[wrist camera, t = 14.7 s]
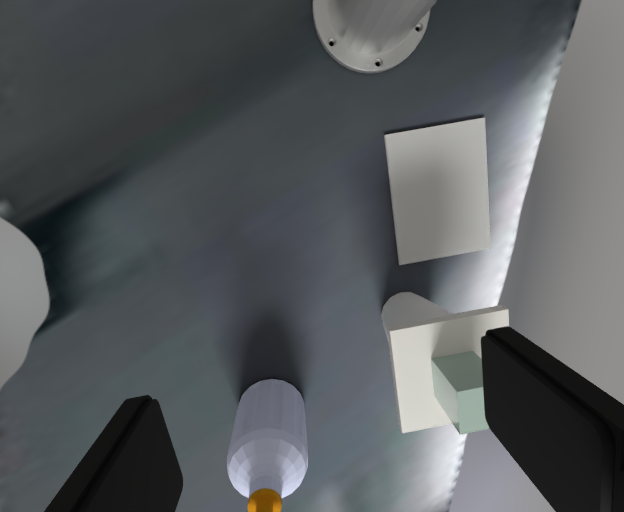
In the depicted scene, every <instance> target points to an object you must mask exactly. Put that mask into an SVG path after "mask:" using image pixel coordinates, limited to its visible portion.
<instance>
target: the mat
mask: <svg viewBox="0 0 624 512" xmlns="http://www.w3.org/2000/svg"><path fill="white" fill-rule="evenodd" d="M384 139H385V148H386V157H387V165H388V174H389V183H390V192H391V201H392V209H393V218H394V227H395V236H396V245H397V253H398V262H399V265H404V264H409V263H415V262H420V261H425V260H431V259H436V258H442V257H447V256H452V255H458V254H463V253H469V252H474V251H479V250H485V249H490V248H491V242H490V220H489V198H488V176H487V153H486V131H485V118H479V119H473V120H468V121H462V122H456V123H450V124H445V125H439V126H433V127H428V128H422V129H416V130H410V131H405V132H399V133H393V134H388V135H384Z"/></svg>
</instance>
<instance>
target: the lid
mask: <svg viewBox="0 0 624 512" xmlns="http://www.w3.org/2000/svg"><path fill="white" fill-rule="evenodd" d="M506 326H509V317H508V309H507V308H505V307H504V306H502V305H500V306H495V307H489V308H484V309H478V310H473V311H468V312H462V313H457V314H452V315H446V316H441V317H435V318H430V319H425V320H419V321H414V322H409V323H403V324H398V325H392V326H387V333H388V341H389V349H390V358H391V366H392V374H393V382H394V390H395V398H396V406H397V414H398V422H399V427H400V429H401V432H402V433H406V432H411V431H416V430H422V429H427V428H432V427H437V426H442V425H447V424H452V423H453V425H454V426H455V428H456V429H457V431H458V432H459V434H465V433H470V432H475V431H480V430H485V429H490V428H489V426H488V424H487V422H486V418H485V410H484V392H483V375H482V357H481V337H482V336H485V334H486V331H487V330H490V329H495V328H500V327H506Z"/></svg>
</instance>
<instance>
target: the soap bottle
mask: <svg viewBox="0 0 624 512" xmlns="http://www.w3.org/2000/svg"><path fill="white" fill-rule="evenodd" d="M307 468H308V449H307V435H306V421H305V406H304V401H303V398H302V396H301V394H300V392H299V391H298V390H297V389H296V388H295V387H294V386H293V385H291V384H289V383H287V382H285V381H283V380H277V379H268V380H262V381H259V382H257V383H255V384H253V385H251V386H250V387H249V388H248V389H247V390H246V391H245V392H244V393H243V395H242V397H241V400H240V402H239V405H238V409H237V414H236V419H235V423H234V428H233V433H232V437H231V442H230V446H229V451H228V456H227V471H228V475H229V478H230V480H231V482H232V484H233V486H234V488H235V489H236V490H238V491H239V492H240V493H241V494H242V495H243V496H246V497H248V511H249V512H280V510H281V504H282V498H283V497H285V496H287V495H289V494H291V493H292V492H293V491H294V490H295V489H296V488H298V487H299V486H300V484H301V482H302V480H303V478H304V475H305V473H306V470H307Z"/></svg>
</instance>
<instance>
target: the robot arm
mask: <svg viewBox="0 0 624 512" xmlns="http://www.w3.org/2000/svg"><path fill="white" fill-rule="evenodd" d="M436 2H437V0H313V5H312V13H313V20H314V26H315V29H316V32H317V35H318V38H319V40H320V41H321V43H322V45H323V47H324V48H325V50H326V51H327V52H328V53H329V55H330V56H331V57H332V58H333V59H334V60H336V61H337V62H338V63H339V64H340V65H342V66H344V67H346V68H348V69H350V70H353V71H356V72H359V73H369V74H371V73H379V72H383V71H386V70H389V69H391V68H393V67H395V66H396V65H398V64H400V63H401V62H402V61H403V60H405V59H406V58H407V57H408V56H409V55H410V54H411V53H412V52H413V51H414V50H415V48H416V47H417V45H418V44H419V42H420V41H421V39H422V37H423V35H424V33H425V30H426V28H427V24H428V20H429V16H430V9H431V7H432V6H433V5H434V4H435V3H436ZM415 28H417V29H418V32H417V31H416V29H415ZM329 43H333V46H330V45H329ZM375 63H378V64H379V67H377V66H376V65H375ZM481 357H482V375H483V392H484V410H485V418H486V422H487V424H488V426H489V428H490V429H491V431H492V432H493V433H494V434H495V436H496V437H497V438H498V439H499V441H500V442H501V443H502V445H503V446H504V447H505V448H506V450H507V451H508V452H509V453H510V455H511V456H512V457H513V458H514V460H515V461H516V462H517V463H518V465H519V466H520V467H521V468H522V470H523V471H524V472H525V474H526V475H527V476H528V477H529V479H530V480H531V481H532V482H533V484H534V485H535V486H536V487H537V489H538V490H539V491H540V492H541V494H542V495H543V496H544V497H545V499H546V500H547V501H548V502H549V504H550V505H551V506H552V507H553V509H554V510H555V511H556V512H624V405H623V404H622V403H620V402H619V401H617V400H616V399H614V398H613V397H612V396H610V395H609V394H607V393H606V392H604V391H603V390H601V389H600V388H598V387H597V386H596V385H594V384H593V383H591V382H590V381H588V380H587V379H585V378H584V377H582V376H581V375H579V374H578V373H577V372H575V371H574V370H572V369H571V368H569V367H568V366H566V365H565V364H563V363H562V362H561V361H559V360H557V359H556V358H554V357H553V356H552V355H550V354H549V353H547V352H546V351H544V350H543V349H542V348H540V347H538V346H537V345H535V344H534V343H533V342H531V341H530V340H528V339H527V338H525V337H524V336H523V335H521V334H520V333H518V332H517V331H515V330H514V329H512V328H511V327H509V326H506V327H500V328H495V329H490V330H487V331H486V334H485V336H482V337H481ZM182 488H183V476H182V473H181V470H180V466H179V463H178V460H177V457H176V454H175V451H174V448H173V445H172V442H171V439H170V436H169V433H168V429H167V426H166V423H165V420H164V417H163V414H162V411H161V408H160V405H159V402H158V401H157V400H156V399H153V400H152V398H151V397H150V396H149V395H145V396H140V397H135V398H130V399H126V400H125V401H124V402H123V404H122V405H121V406H120V408H119V409H118V410H117V412H116V413H115V415H114V416H113V417H112V419H111V420H110V421H109V423H108V424H107V426H106V427H105V428H104V430H103V431H102V433H101V434H100V435H99V437H98V438H97V439H96V441H95V442H94V444H93V445H92V446H91V448H90V449H89V450H88V452H87V453H86V455H85V456H84V457H83V459H82V460H81V461H80V463H79V464H78V466H77V467H76V468H75V470H74V471H73V473H72V474H71V475H70V477H69V478H68V479H67V481H66V482H65V484H64V485H63V486H62V488H61V489H60V490H59V492H58V493H57V495H56V496H55V497H54V499H53V500H52V502H51V503H50V504H49V506H48V507H47V508H46V510H45V511H44V512H175V510H176V507H177V504H178V501H179V498H180V495H181V492H182Z"/></svg>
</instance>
